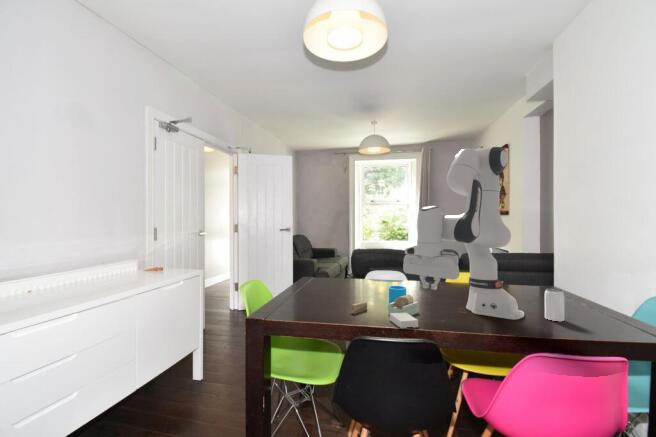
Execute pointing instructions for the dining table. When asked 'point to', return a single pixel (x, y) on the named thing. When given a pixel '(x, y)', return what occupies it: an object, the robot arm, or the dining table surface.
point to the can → (554, 304)
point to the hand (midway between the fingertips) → (429, 288)
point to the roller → (403, 301)
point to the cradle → (404, 308)
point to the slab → (403, 320)
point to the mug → (396, 292)
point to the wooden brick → (359, 307)
